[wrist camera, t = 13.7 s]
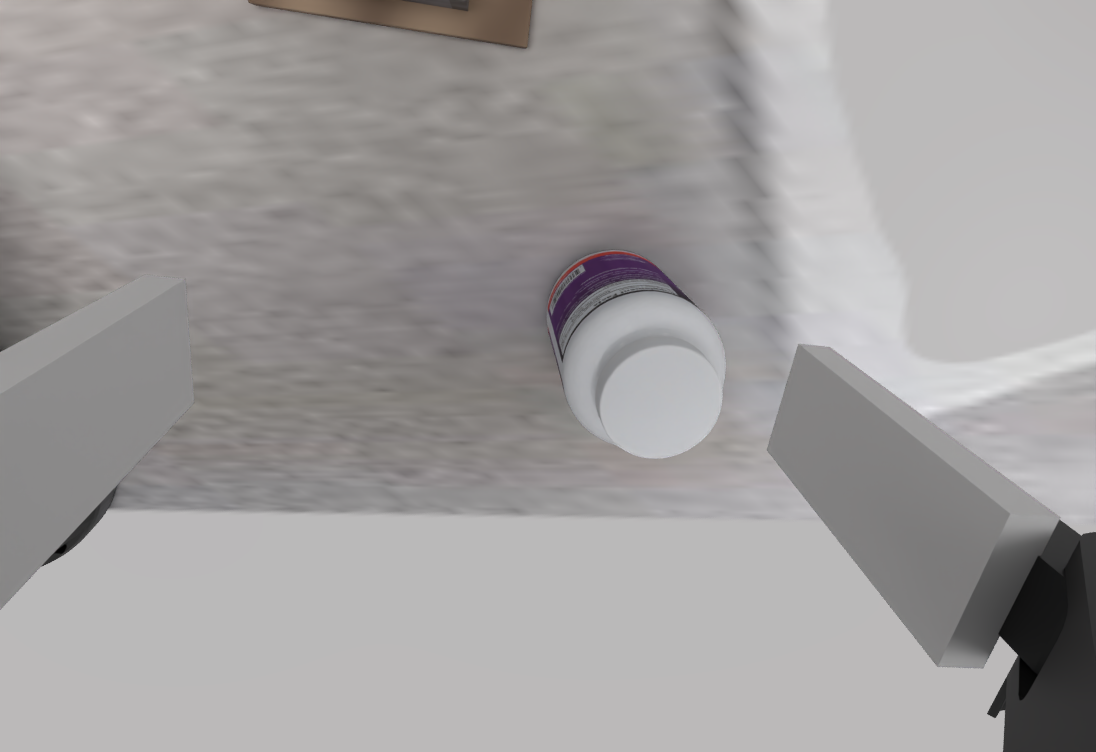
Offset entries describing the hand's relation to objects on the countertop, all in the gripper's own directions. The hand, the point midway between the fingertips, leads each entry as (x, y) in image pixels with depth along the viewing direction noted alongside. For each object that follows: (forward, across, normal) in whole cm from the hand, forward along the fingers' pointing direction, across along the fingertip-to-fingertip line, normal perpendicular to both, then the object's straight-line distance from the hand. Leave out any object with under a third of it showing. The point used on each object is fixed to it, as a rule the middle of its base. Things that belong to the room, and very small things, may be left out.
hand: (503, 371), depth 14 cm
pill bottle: (+27, +8, -6) cm, 29 cm away
